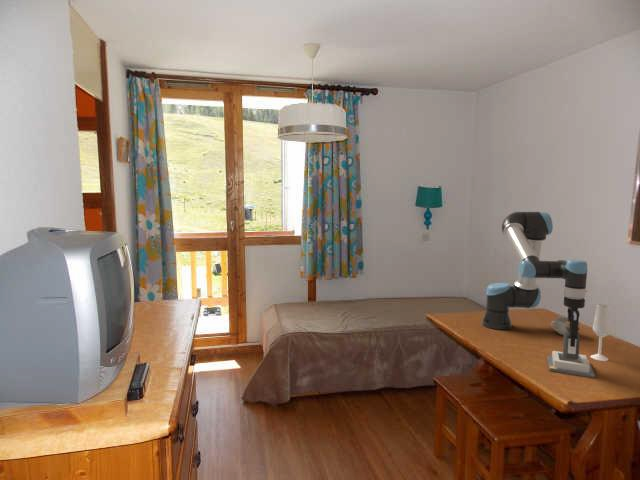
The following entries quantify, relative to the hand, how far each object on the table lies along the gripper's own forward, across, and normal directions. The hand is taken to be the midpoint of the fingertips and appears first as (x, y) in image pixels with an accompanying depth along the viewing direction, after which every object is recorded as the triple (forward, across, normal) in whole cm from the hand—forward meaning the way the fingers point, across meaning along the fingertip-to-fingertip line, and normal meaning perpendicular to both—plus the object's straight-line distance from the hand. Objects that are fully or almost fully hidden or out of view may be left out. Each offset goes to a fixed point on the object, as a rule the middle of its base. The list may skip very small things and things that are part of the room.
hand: (570, 350), depth 178 cm
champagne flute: (+7, +17, -13) cm, 23 cm away
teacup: (+7, +46, -1) cm, 47 cm away
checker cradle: (+7, 0, 0) cm, 7 cm away
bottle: (+3, 0, 0) cm, 3 cm away
